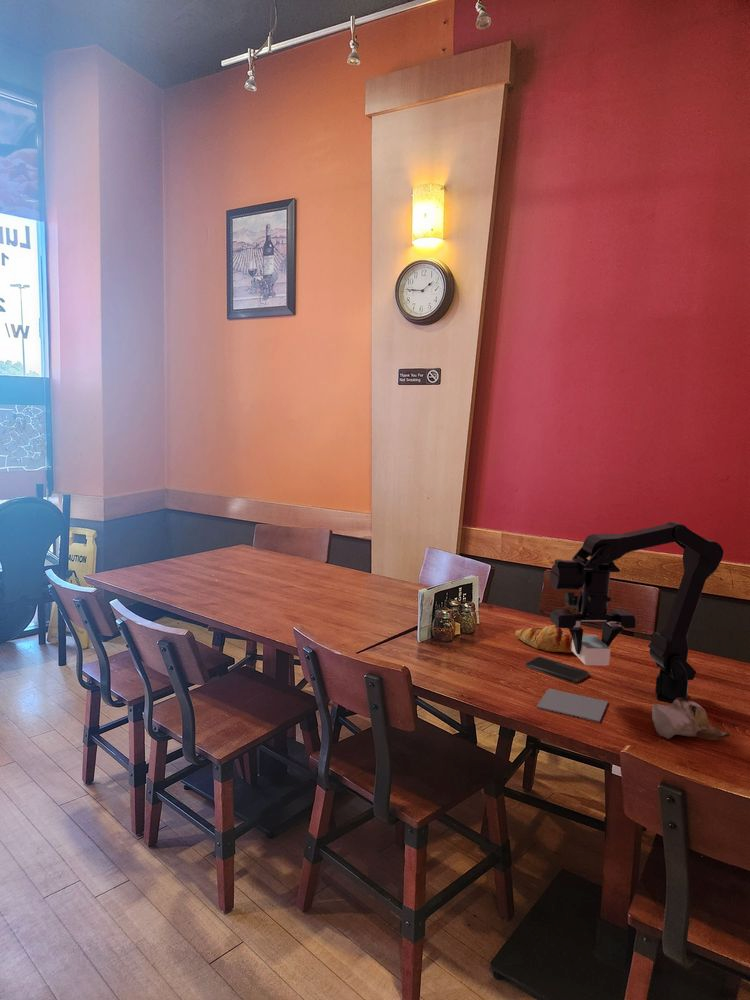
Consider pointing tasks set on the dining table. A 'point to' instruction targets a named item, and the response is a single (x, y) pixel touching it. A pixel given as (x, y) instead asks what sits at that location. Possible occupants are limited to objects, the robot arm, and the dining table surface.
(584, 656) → the card box
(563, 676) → the phone
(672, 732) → the ceramic sculpture
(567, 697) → the mat
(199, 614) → the dining table surface
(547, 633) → the croissant
